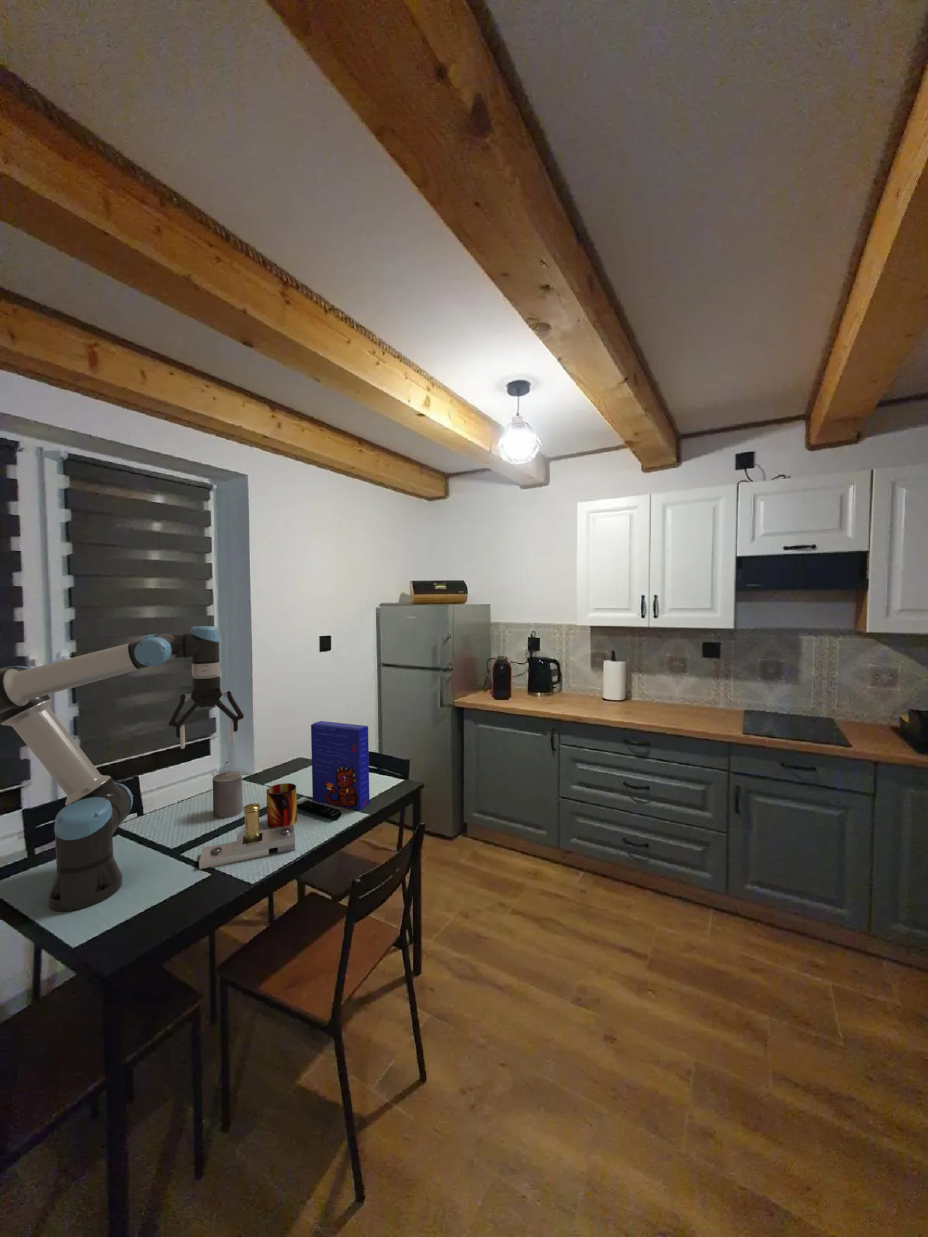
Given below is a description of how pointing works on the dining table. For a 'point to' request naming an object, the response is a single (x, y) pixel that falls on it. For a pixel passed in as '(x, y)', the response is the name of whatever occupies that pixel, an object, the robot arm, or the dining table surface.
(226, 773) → the pillar candle
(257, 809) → the brass pin
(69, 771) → the robot arm
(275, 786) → the mug
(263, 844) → the slotted metal plate
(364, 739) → the cereal box
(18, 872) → the dining table surface
